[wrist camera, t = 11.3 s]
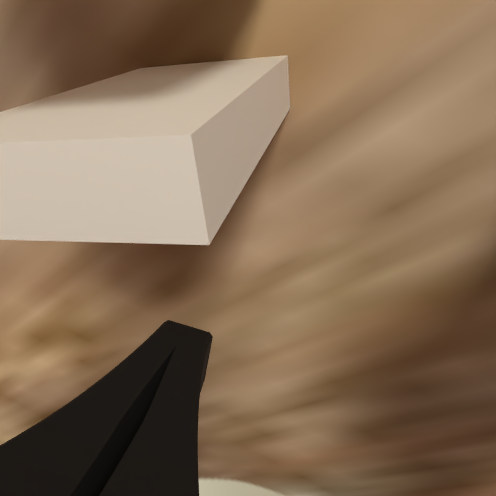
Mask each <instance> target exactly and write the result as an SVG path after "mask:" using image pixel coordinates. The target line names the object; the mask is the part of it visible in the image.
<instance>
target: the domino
mask: <svg viewBox="0 0 496 496" xmlns="http://www.w3.org/2000/svg"><path fill="white" fill-rule="evenodd" d="M289 110H290V94H289V71H288V55H286V56H274V57H262V58H251V59H239V60H227V61H216V62H204V63H192V64H180V65H169V66H157V67H145V68H139V69H136V70H133V71H130V72H126V73H123V74H120V75H117V76H114V77H110V78H107V79H104V80H101V81H98V82H95V83H91V84H88V85H85V86H82V87H79V88H75V89H72V90H69V91H66V92H63V93H59V94H56V95H53V96H50V97H47V98H43V99H40V100H37V101H34V102H31V103H27V104H24V105H21V106H18V107H15V108H11V109H8V110H5V111H2V112H0V240H36V241H74V242H111V243H149V244H186V245H210V243H211V241H212V240H213V238H214V236H215V235H216V233H217V231H218V230H219V228H220V226H221V225H222V223H223V221H224V220H225V218H226V216H227V214H228V213H229V211H230V209H231V208H232V206H233V204H234V203H235V201H236V199H237V198H238V196H239V194H240V192H241V191H242V189H243V187H244V186H245V184H246V182H247V181H248V179H249V177H250V176H251V174H252V172H253V171H254V169H255V167H256V165H257V164H258V162H259V160H260V159H261V157H262V155H263V154H264V152H265V150H266V149H267V147H268V145H269V143H270V142H271V140H272V138H273V137H274V135H275V133H276V132H277V130H278V128H279V127H280V125H281V123H282V121H283V120H284V118H285V116H286V115H287V113H288V111H289Z"/></svg>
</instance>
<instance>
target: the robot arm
mask: <svg viewBox="0 0 496 496" xmlns="http://www.w3.org/2000/svg"><path fill="white" fill-rule="evenodd" d="M212 337H213V336H212V335H211V334H210V332H206V331H203V330H200V329H196V328H193V327H190V326H186V325H183V324H180V323H176V322H173V321H170V320H168V321H166V322H164V323H163V324H162V325H161V326H160V327H159V328H158V329H157V330H156V331H155V332H154V333H153V334H152V335H151V336H150V337H149V338H148V339H147V340H146V341H145V342H144V343H143V344H142V345H141V346H139V347H138V348H137V349H136V350H135V351H134V352H133V353H132V354H131V355H129V356H128V357H127V358H126V359H125V360H123V361H122V362H121V363H120V364H119V365H118V366H116V367H115V368H114V369H113V370H112V371H110V372H109V373H108V374H107V375H105V376H104V377H103V378H101V379H100V380H99V381H98V382H96V383H95V384H94V385H92V386H91V387H90V388H88V389H87V390H86V391H84V392H83V393H82V394H80V395H79V396H78V397H76V398H75V399H73V400H72V401H71V402H69V403H68V404H66V405H65V406H63V407H62V408H60V409H59V410H57V411H56V412H54V413H53V414H51V415H50V416H48V417H47V418H45V419H44V420H42V421H41V422H39V423H37V424H36V425H34V426H32V427H31V428H29V429H27V430H26V431H24V432H22V433H21V434H19V435H18V436H16V437H14V438H12V439H11V440H9V441H7V442H5V443H4V444H2V445H0V496H199V483H198V410H199V397H200V392H201V389H202V386H203V382H204V379H205V375H206V369H207V364H208V359H209V353H210V348H211V343H212Z"/></svg>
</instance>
